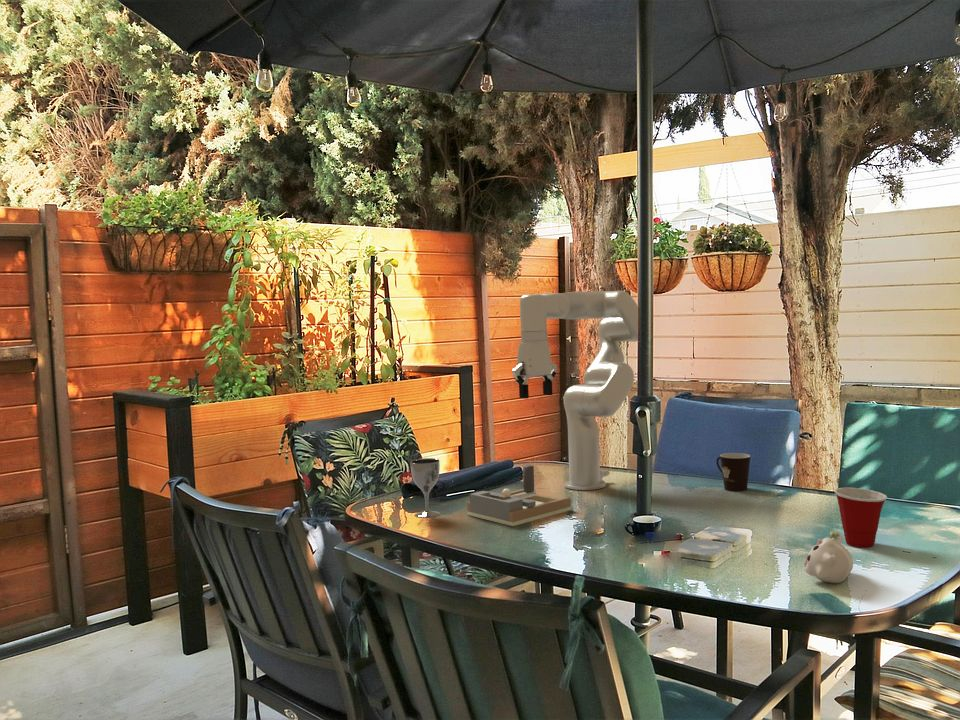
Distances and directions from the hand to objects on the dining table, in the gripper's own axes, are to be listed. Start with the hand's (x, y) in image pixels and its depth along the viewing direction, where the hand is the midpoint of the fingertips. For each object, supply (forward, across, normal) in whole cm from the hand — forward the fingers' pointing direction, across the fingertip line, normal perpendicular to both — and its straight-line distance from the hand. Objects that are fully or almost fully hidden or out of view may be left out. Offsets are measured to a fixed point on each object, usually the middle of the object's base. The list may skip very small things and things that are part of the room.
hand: (536, 396), depth 239 cm
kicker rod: (+29, +14, +6) cm, 33 cm away
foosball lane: (+30, +14, +6) cm, 34 cm away
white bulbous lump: (+31, +11, +92) cm, 98 cm away
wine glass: (+31, +32, -12) cm, 46 cm away
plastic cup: (+31, -16, +86) cm, 93 cm away
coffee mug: (+31, -48, +34) cm, 66 cm away
